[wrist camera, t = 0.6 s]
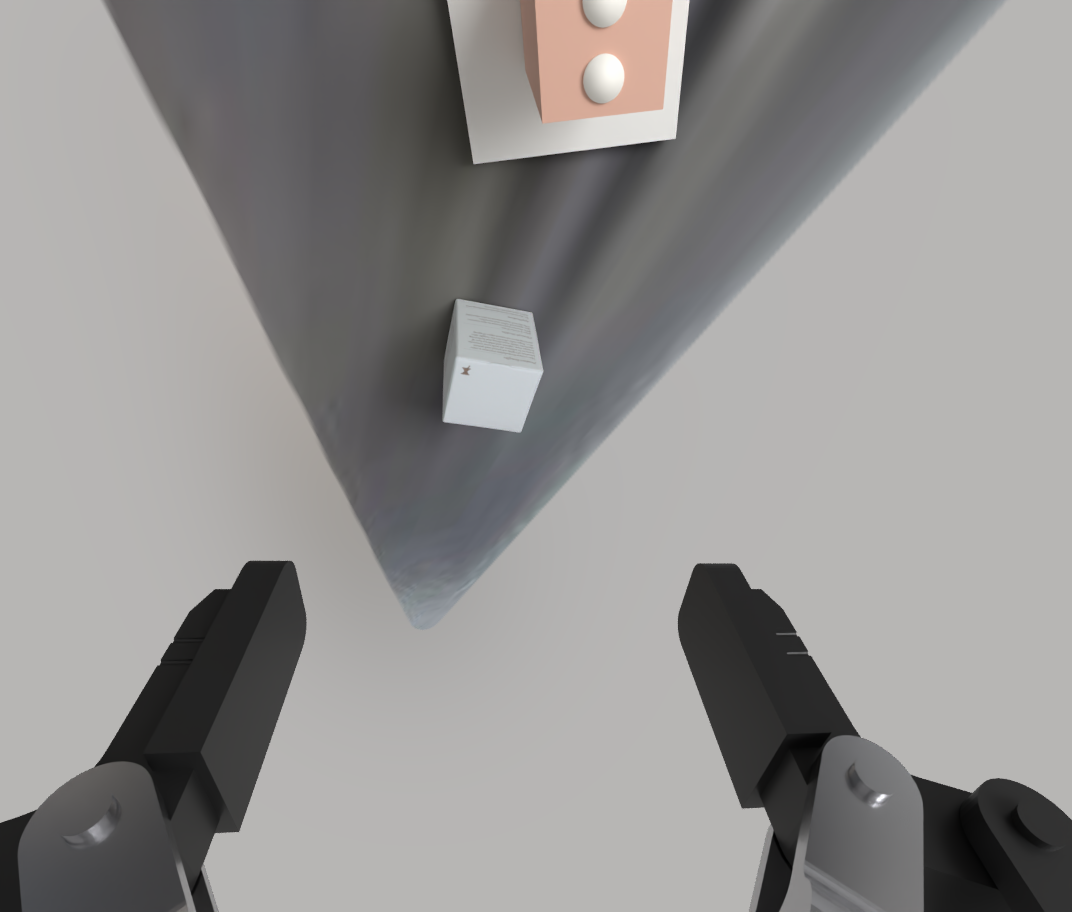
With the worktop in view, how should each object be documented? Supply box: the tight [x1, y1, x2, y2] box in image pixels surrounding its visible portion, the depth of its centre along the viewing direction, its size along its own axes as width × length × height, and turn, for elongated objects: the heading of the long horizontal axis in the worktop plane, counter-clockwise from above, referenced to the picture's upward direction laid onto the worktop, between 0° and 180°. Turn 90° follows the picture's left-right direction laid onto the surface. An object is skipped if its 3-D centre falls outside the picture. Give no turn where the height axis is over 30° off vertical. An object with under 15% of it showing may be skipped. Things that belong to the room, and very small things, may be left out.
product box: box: [442, 299, 543, 432], centre depth 39 cm, size 6×6×7 cm
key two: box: [520, 0, 673, 124], centre depth 23 cm, size 5×5×9 cm
